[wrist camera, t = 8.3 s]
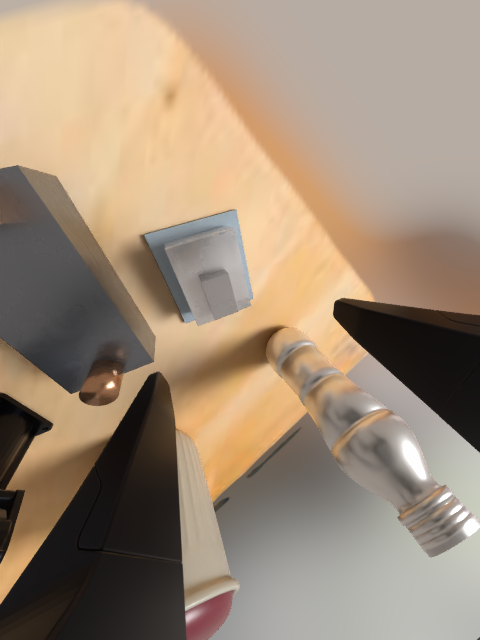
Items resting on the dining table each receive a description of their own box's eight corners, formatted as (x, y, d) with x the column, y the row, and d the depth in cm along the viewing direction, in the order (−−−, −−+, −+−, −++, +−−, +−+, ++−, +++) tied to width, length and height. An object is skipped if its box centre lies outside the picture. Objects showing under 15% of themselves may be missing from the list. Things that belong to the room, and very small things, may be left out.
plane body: (156, 338, 20) (153, 400, 14) (88, 364, 19) (50, 444, 13) (56, 176, 12) (-65, 142, 6) (-73, 203, 11) (-405, 198, 5)
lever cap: (240, 294, 21) (256, 311, 17) (193, 311, 20) (199, 333, 16) (224, 225, 17) (240, 230, 13) (164, 243, 16) (164, 252, 12)
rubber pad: (251, 297, 22) (253, 298, 21) (185, 321, 20) (185, 323, 20) (234, 209, 17) (236, 209, 16) (144, 234, 15) (144, 235, 15)
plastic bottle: (266, 365, 29) (399, 570, 13) (254, 334, 25) (426, 574, 9) (302, 346, 29) (472, 517, 13) (296, 313, 25) (529, 499, 9)
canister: (87, 495, 30) (-14, 880, 13) (65, 424, 22) (-278, 1193, 5) (201, 464, 37) (233, 684, 20) (216, 401, 29) (291, 679, 12)
